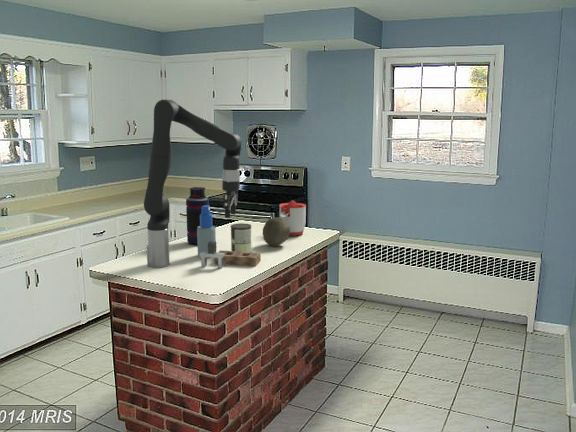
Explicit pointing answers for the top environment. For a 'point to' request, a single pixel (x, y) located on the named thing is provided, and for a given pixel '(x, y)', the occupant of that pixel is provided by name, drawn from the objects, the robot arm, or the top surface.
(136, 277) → the top surface
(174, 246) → the top surface
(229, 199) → the robot arm
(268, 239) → the cantaloupe
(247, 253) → the wooden block with holes
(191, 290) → the top surface
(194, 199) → the dark navy bottle
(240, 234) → the coffee can
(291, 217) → the citrus juicer
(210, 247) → the clip
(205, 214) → the spray bottle
